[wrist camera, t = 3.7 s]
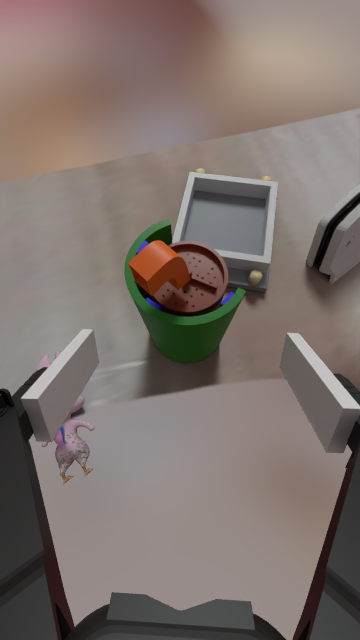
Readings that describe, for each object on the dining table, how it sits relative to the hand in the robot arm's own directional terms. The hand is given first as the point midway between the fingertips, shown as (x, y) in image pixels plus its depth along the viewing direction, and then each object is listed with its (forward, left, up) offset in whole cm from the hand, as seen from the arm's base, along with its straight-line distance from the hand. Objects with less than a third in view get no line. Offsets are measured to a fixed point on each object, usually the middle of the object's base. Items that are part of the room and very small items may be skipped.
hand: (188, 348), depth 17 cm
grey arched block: (+21, +26, -17) cm, 37 cm away
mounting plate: (+1, +24, -16) cm, 29 cm away
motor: (-2, +6, -16) cm, 18 cm away
